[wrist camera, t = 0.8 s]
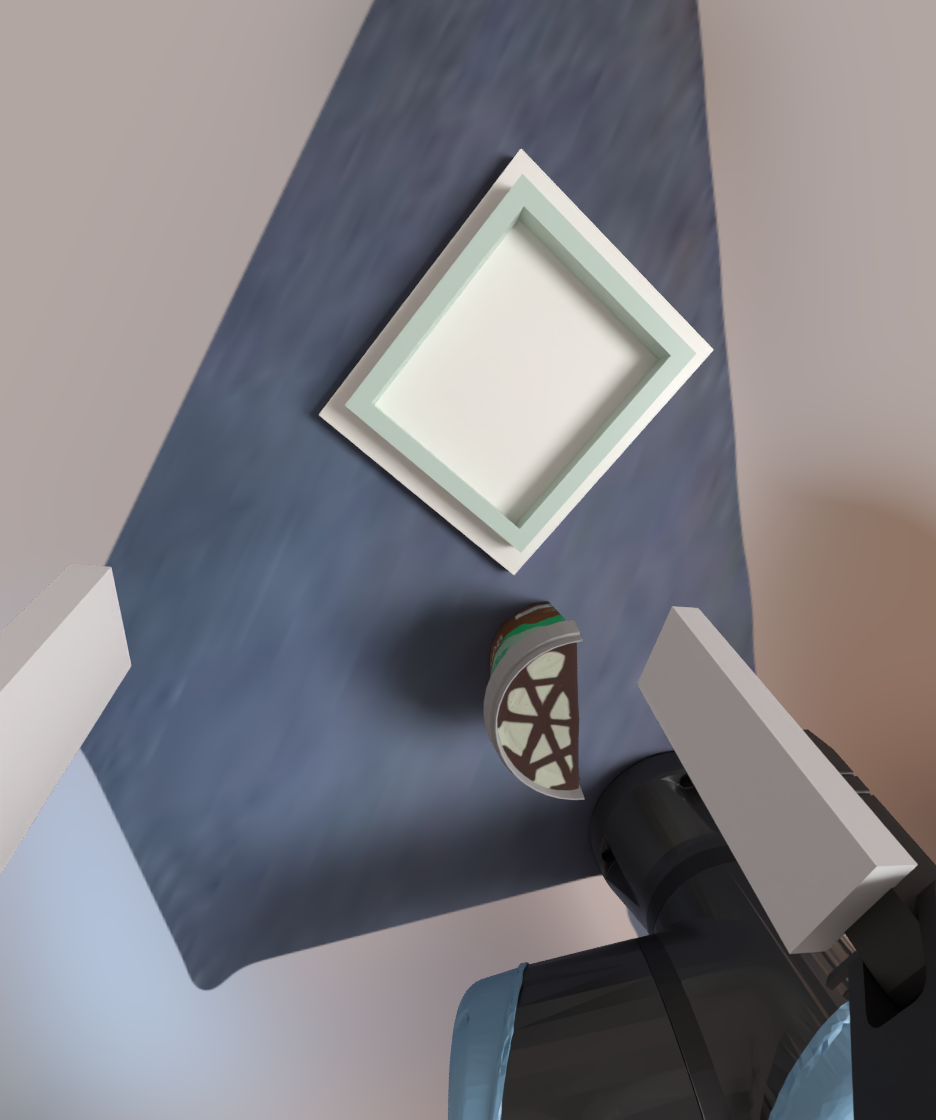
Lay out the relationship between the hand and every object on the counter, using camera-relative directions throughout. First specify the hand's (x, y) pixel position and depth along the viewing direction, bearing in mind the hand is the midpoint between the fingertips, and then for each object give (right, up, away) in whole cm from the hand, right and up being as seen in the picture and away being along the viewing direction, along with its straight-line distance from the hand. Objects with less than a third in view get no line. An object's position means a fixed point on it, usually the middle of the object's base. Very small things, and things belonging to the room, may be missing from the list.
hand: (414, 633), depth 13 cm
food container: (+5, -6, +29) cm, 30 cm away
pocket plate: (+5, +14, +24) cm, 28 cm away
